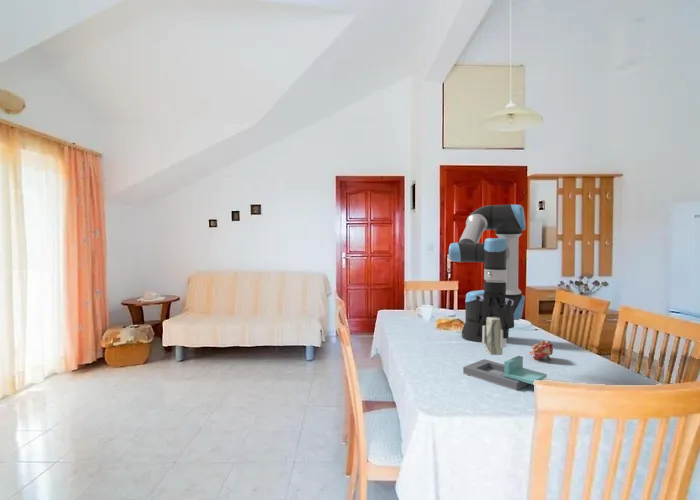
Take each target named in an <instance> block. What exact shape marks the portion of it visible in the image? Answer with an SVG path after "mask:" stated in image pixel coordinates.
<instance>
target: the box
mask: <svg viewBox="0 0 700 500" xmlns="http://www.w3.org/2000/svg"><path fill="white" fill-rule="evenodd" d="M500 329H502V324H501V320H500V318H499V317H486V343H485V352H486V353H487V354H490V355H491V356H501V355H502V356H503V348H500Z"/></svg>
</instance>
